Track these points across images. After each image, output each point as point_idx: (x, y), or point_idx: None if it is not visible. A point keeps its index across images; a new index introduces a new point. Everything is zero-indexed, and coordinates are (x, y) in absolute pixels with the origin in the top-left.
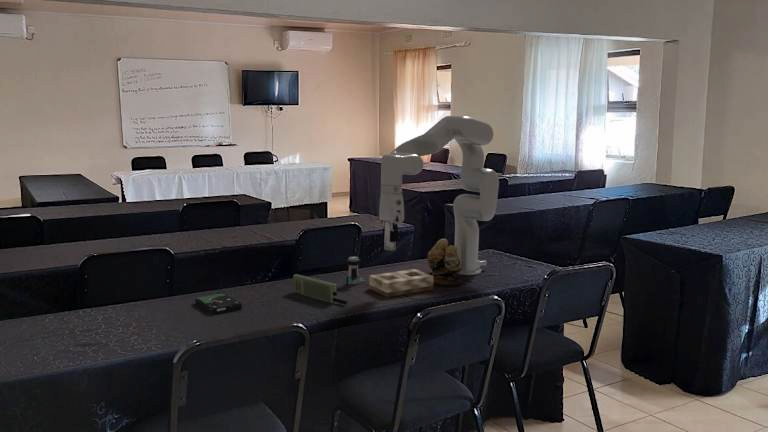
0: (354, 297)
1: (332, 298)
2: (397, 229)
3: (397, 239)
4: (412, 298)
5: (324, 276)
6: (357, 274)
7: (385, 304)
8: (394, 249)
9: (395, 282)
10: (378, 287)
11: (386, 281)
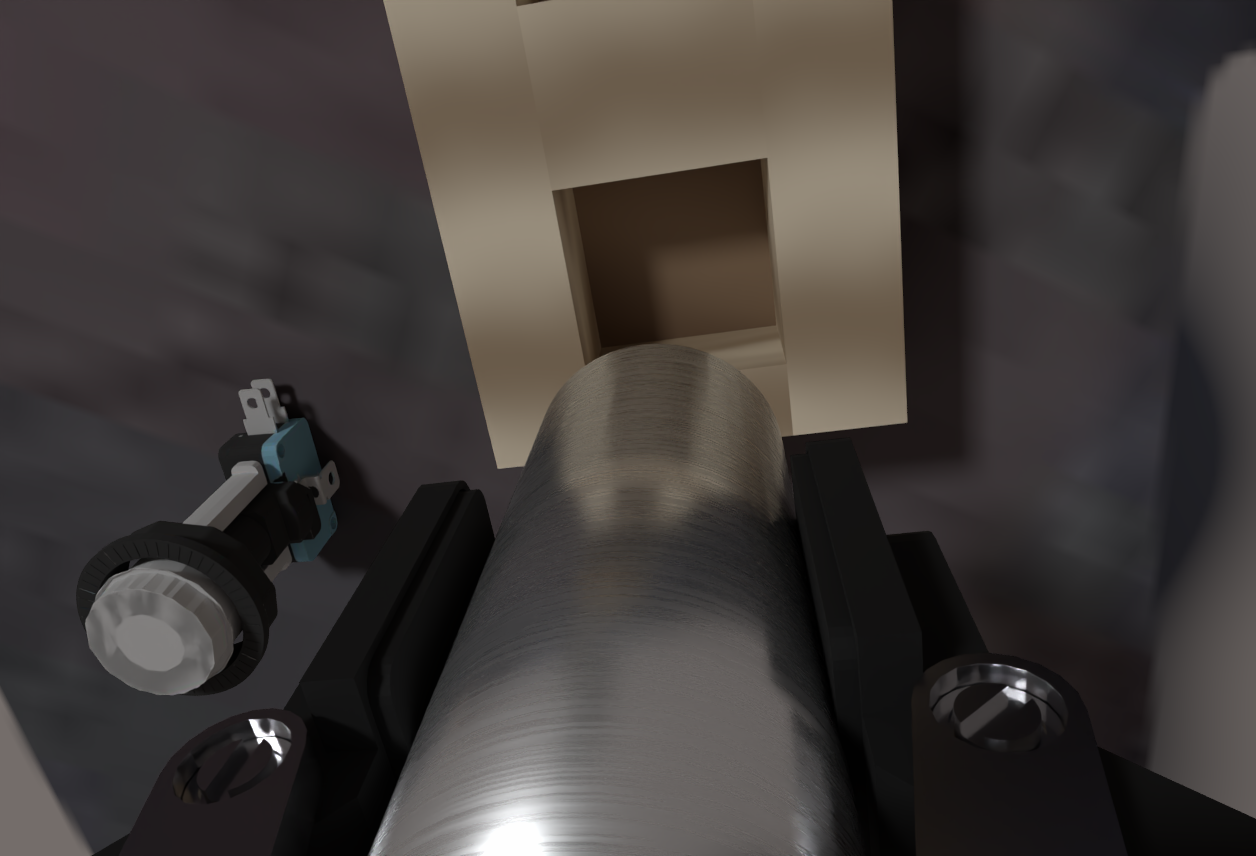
0: None
1: None
2: (1134, 809)
3: (856, 475)
4: (1062, 115)
5: (8, 613)
6: (258, 480)
7: (1092, 468)
8: (769, 409)
9: (901, 300)
10: None
11: (834, 397)
